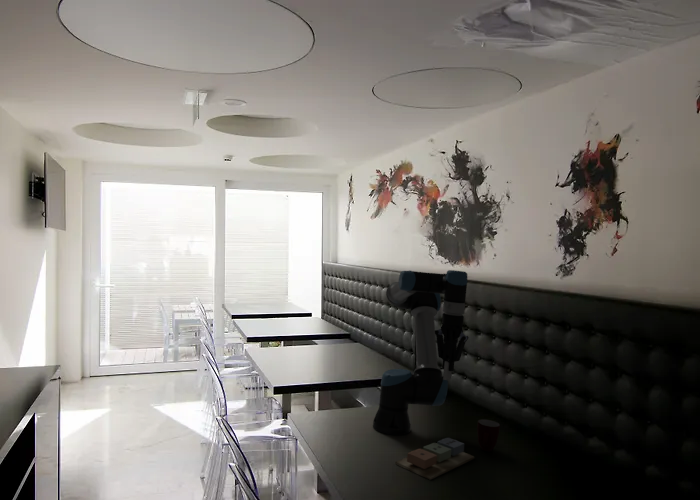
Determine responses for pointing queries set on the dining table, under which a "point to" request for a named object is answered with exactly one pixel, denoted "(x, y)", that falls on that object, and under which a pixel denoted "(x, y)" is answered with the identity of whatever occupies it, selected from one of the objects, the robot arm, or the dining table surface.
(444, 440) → the tile
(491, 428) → the mug
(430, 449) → the tile
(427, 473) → the board
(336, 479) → the dining table surface
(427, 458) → the tile
